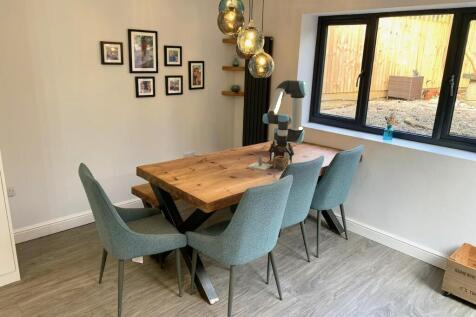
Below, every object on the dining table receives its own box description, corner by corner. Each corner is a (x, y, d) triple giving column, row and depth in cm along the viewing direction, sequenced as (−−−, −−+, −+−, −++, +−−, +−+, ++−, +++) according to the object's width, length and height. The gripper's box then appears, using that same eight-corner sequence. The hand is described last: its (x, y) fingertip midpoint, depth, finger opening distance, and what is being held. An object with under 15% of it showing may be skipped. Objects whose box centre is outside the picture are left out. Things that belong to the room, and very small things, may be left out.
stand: (277, 166, 284) (278, 163, 283) (286, 168, 281) (286, 164, 280) (274, 169, 278) (274, 165, 277) (282, 170, 275) (283, 166, 274)
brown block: (277, 162, 284) (278, 155, 282) (287, 164, 280) (287, 157, 278) (273, 165, 277) (274, 157, 275) (283, 167, 273) (283, 159, 272)
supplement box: (283, 166, 286) (284, 147, 282) (269, 161, 297) (270, 143, 293) (291, 164, 292) (293, 145, 288) (278, 159, 304) (279, 141, 300)
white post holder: (256, 163, 292) (256, 152, 289) (272, 166, 285) (272, 154, 283) (248, 167, 280) (248, 156, 277) (264, 170, 273) (265, 159, 271)
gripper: (265, 133, 275) (263, 160, 280) (296, 138, 263) (294, 166, 269) (269, 132, 281) (267, 158, 287) (299, 136, 270) (297, 163, 275)
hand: (280, 162), depth 278 cm, fingers open, 13 cm apart
